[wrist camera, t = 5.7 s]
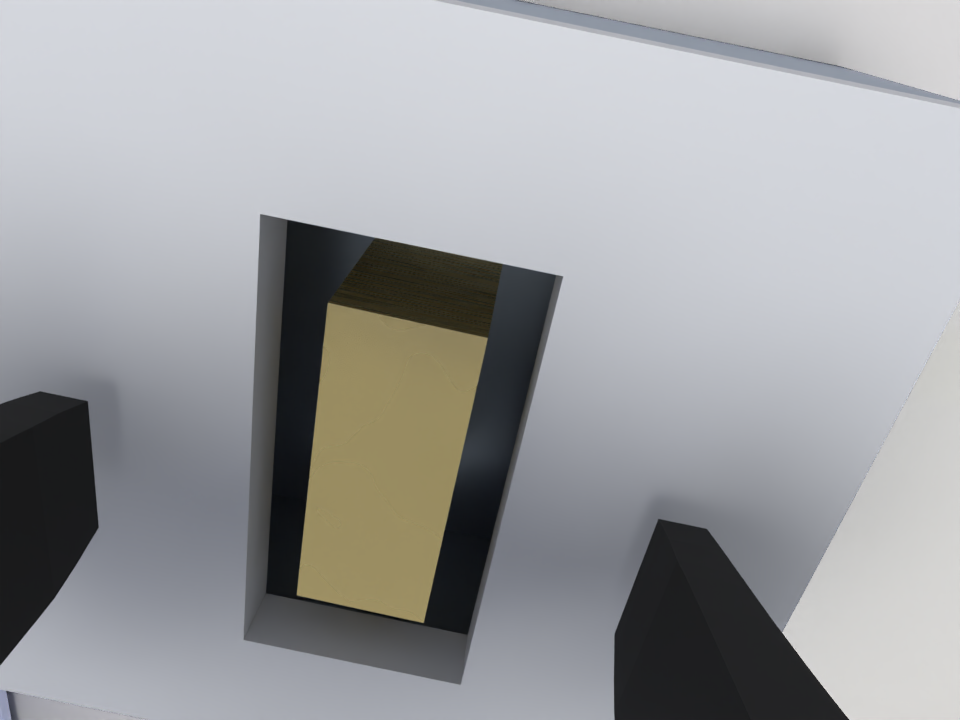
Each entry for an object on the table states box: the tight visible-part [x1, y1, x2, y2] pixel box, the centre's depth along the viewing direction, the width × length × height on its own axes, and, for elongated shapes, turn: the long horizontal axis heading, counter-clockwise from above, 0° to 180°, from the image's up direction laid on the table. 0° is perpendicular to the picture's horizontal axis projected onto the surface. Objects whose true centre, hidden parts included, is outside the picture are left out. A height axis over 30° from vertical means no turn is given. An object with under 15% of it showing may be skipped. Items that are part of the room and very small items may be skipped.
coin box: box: [0, 0, 960, 720], centre depth 13 cm, size 12×12×6 cm
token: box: [297, 238, 503, 623], centre depth 12 cm, size 5×2×5 cm, turn 169°
